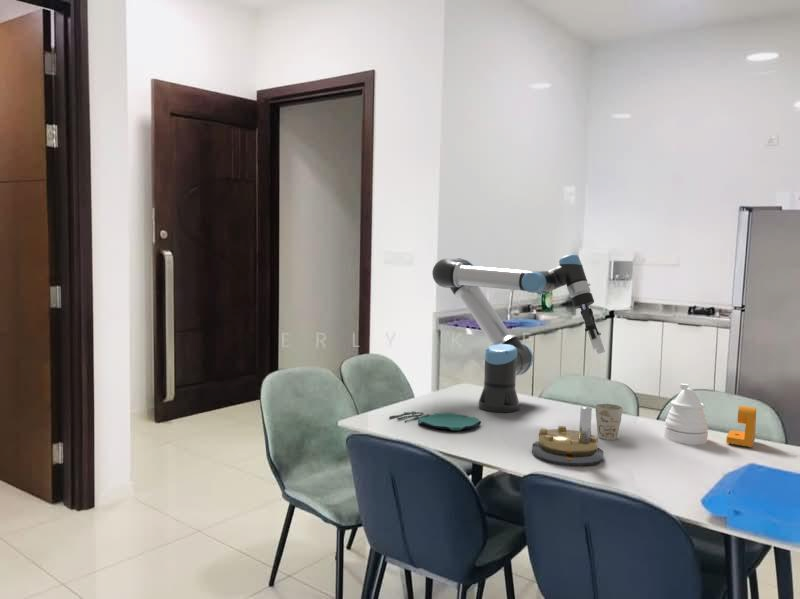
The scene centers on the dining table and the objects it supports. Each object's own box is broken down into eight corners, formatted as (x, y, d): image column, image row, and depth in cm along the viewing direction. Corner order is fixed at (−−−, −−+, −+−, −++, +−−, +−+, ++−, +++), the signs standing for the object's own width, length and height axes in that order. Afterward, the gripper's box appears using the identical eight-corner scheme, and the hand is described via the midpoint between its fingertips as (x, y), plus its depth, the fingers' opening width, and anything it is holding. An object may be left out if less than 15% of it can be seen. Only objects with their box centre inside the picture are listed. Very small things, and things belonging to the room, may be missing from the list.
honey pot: (686, 446, 207) (689, 389, 206) (655, 435, 219) (658, 381, 218) (716, 442, 213) (720, 386, 211) (684, 432, 224) (687, 379, 223)
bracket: (729, 437, 219) (732, 401, 218) (754, 441, 215) (757, 405, 214) (725, 445, 210) (728, 407, 209) (751, 449, 206) (754, 411, 205)
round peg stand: (532, 449, 189) (534, 404, 189) (545, 436, 204) (547, 394, 203) (591, 459, 182) (594, 412, 181) (601, 444, 197) (603, 401, 196)
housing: (523, 459, 189) (524, 451, 188) (541, 441, 207) (541, 434, 207) (596, 471, 180) (597, 463, 180) (607, 452, 198) (608, 444, 198)
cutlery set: (458, 436, 210) (459, 429, 210) (384, 421, 228) (384, 414, 228) (490, 425, 226) (490, 419, 226) (418, 412, 244) (418, 406, 244)
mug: (589, 436, 215) (590, 406, 214) (606, 430, 224) (608, 400, 223) (613, 442, 209) (615, 411, 208) (630, 435, 218) (632, 405, 217)
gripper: (587, 284, 232) (606, 342, 226) (594, 298, 254) (612, 351, 248) (566, 291, 234) (584, 349, 228) (575, 304, 257) (592, 357, 251)
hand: (599, 350), depth 238 cm, fingers open, 13 cm apart
